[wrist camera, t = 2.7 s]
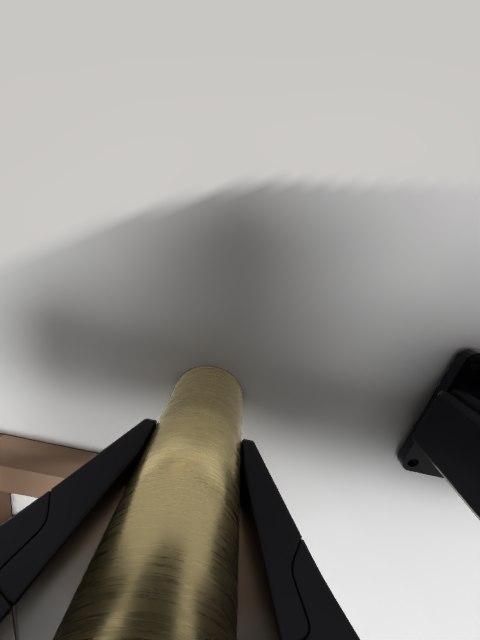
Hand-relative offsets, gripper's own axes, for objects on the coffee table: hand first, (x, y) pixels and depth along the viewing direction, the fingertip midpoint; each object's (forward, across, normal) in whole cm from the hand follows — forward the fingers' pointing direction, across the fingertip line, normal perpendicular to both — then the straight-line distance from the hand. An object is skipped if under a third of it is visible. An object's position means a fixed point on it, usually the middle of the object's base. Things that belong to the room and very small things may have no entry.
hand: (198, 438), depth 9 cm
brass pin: (+2, 0, 0) cm, 2 cm away
